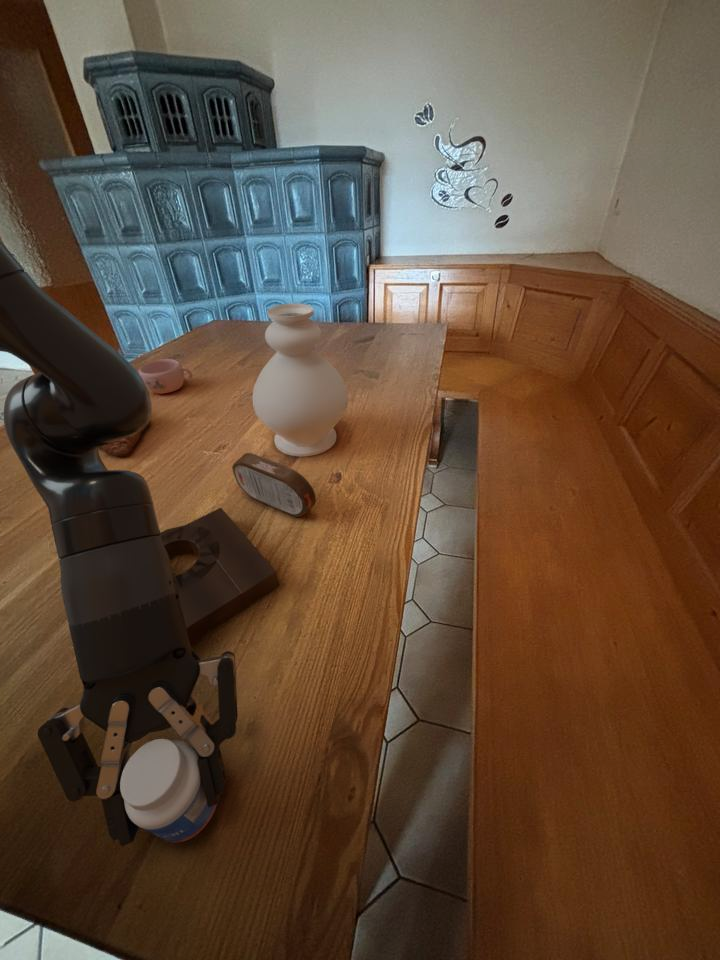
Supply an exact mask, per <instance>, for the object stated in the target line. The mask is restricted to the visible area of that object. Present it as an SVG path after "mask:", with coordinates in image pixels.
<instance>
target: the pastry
mask: <svg viewBox="0 0 720 960" xmlns="http://www.w3.org/2000/svg"><path fill="white" fill-rule="evenodd" d="M149 424H150V421H149V422H148V423H147V425H146V426H145V427H144V428H143V429H142V430H141V431H139V432H137V433H136V434H134V435H132V436H129V437H127V438H124V439H121V440H119V441H116V442H113V443H110V444H107V445H105V446H102V447H100V448H99V449H102V450H103V451H104V452H105V453H106V454H108V455H112V456H115V457H127V456H129V455H130V454H131V453H132V452H133V450H134V449H135V446H136V445H137V444H138V442H139V441H140V438H141V436H142V435H143V433H144V431H145V430H147V428H148V426H149Z"/></svg>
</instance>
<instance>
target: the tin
mask: <svg viewBox="0 0 720 960" xmlns="http://www.w3.org/2000/svg"><path fill="white" fill-rule="evenodd" d="M231 469H232V472H233V476H234V478H235V480H236V483H237V485H238V486H239V488H240V489H241V490H242V491H243V492H244V493H245V494H246V495H247V496H249V497H250V498H252V499H254V500H255V501H257V502H259V503H262V504H264V505H266V506H268V507H271V508H273V509H274V510H277V511H280V512H282V513H284V514H286V515H289V516H290V517H295V518H296V517H297V518H299V517H302V516H304V515H305V514H306V513H308V511H309V510H310V509H311V508H312V507H314V506H315V505H316V502H317V501H316V499H317V498H316V492H315V490H314V488H313V486H312V485H311V483H310V482H309V481H308V479H306V478H305V477H304V476H303V475H302V474H301V473H300V472H298V471H297V470H295V469H293V468H291V467H289V466H286V465H284V464H281V463H279V462H276V461H273V460H271V459H269V458H266V457H263V456H261V455H258V454H257V453H253V452H245V453H243V454H242V455H241V456H240V458H239V459H237V460H236V461H235V462H234V463H233V464H232V466H231Z"/></svg>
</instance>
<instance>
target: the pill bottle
mask: <svg viewBox="0 0 720 960" xmlns="http://www.w3.org/2000/svg"><path fill="white" fill-rule="evenodd" d="M198 758H199V753H198V752H197V751H196V750H195V749H194V747H193V746H192V745H191V744H190V743H189V742H188V741H185V740H180V739H166V738H156V739H152V740H150V741H148V742H146V743H144V744H143V745H141V746H140V747H139V748H138V749H137V750H136V751H135V752H133V754H132V755H131V756H130V757H129V758H128V762H127V763H126V765H125V767H124V770H123V772H122V776H121V781H120V791H121V794H122V797H123V799H124V805H125V810H126V812H127V814H128V816H129V818H130V820H131V821H132V822H133V823H135V824H136V825H137V826H139V828H140V829H142V830H145V831H147V832H149V833H151V834H152V835H154V836H156V837H159V838H161V839H162V840H164V841H166V842H168V843H169V842H170V843H182V842H185V841H188V840H190V839H192V838H193V837H195V836H197V835H198V834H200V832H201V831H202V830H203V829H204V828H205V827H206V826H207V825H208V823H209V822H210V820H211V819H212V817H213V815H214V813H215V811H216V808H217V805H218V804H216V805H214V806H211V807H208V805H207V801H206V797H205V792H204V788H203V784H202V779H201V775H200V771H199V767H198V762H197V761H198Z"/></svg>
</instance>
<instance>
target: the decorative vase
mask: <svg viewBox="0 0 720 960" xmlns="http://www.w3.org/2000/svg"><path fill="white" fill-rule="evenodd" d="M314 311H315V310H314V307H313V306H311V305H310V304H306V303H298V302H297V303H295V302H293V303H283V304H278V305H274V306H271V307H269V308H268V309H267V310H266V313H267V317H268V319H269V320H272V322H271V323H270V324H269V325H268V326H267V328H266V330H265V332H264V339H265V342H266V343H267V345H268V346H269V347H270V348H271V349H273V350H274V351H276V352H275V353H274V354H273V355H272V356H271V357H270V359H269V360H268V361H267V362H266V364H265V365H264V366H263V368H262V369H261V371H260V373H259V375H258V376H257V378H256V381H255V382H254V386H253V389H252V397H251V398H252V399H251V400H252V406H253V411H254V413H255V415H256V417H257V418H258V420H259V421H260V422H261V423H262V425H264V426H265V427H266V428H267V429H269V430H270V431H272V432H273V433H274V434H275V435H274V438H273V442H274V444H275V447H276V449H277V450H278V451H279V452H281V453H283V454H284V455H288V456H292V457H301V458H302V457H303V458H304V457H311V456H312V457H313V456H316V455H320V454H322V453H325V452H327V451H328V450H329V449H331V448H332V447H333V446H334V445H335V443H336V441H337V433H336V430H335V429H334V427H335V426H336V425H337V424H339V422H340V420H341V419H342V417H343V416H344V415H345V413H346V410H347V408H348V405H349V404H348V402H349V394H348V388H347V385H346V382H345V381H344V379H343V377H342V375H341V374H340V373H339V371H338V370H337V369H336V368H335V367H334V365H333V364H332V363H331V362H330V361H329V360H328V359H326V358H325V357H324V356H323V355H322V354H320V353H319V352H318V351H316V349H315V348H316V347H317V345H318V344H319V343H320V341H321V339H322V331H321V329H320V327H319V326H318V324H317V323H316V322H315V321H314V320H312V319H311V317H313V316H314V314H315V313H314Z"/></svg>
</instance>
